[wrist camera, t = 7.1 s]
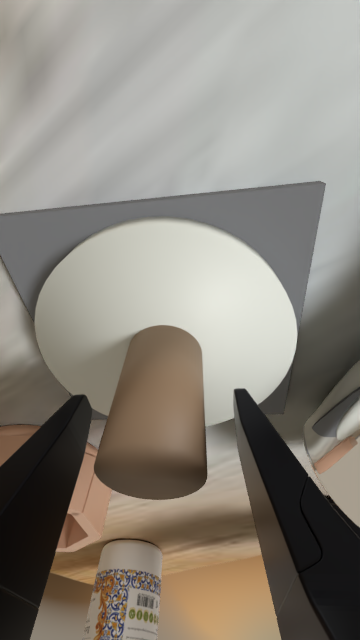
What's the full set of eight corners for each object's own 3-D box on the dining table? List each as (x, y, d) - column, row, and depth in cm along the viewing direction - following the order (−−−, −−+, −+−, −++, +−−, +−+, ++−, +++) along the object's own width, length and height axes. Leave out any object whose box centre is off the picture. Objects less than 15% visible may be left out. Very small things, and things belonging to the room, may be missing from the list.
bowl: (123, 493, 23) (112, 552, 20) (13, 493, 24) (-15, 550, 21) (89, 422, 18) (66, 489, 14) (-52, 426, 19) (-105, 490, 15)
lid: (275, 408, 15) (316, 544, 10) (88, 413, 16) (41, 541, 11) (308, 201, 9) (450, 290, 4) (2, 230, 10) (-189, 331, 5)
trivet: (281, 406, 16) (283, 413, 16) (85, 412, 17) (82, 419, 17) (319, 181, 9) (325, 183, 9) (-10, 214, 10) (-18, 218, 10)
